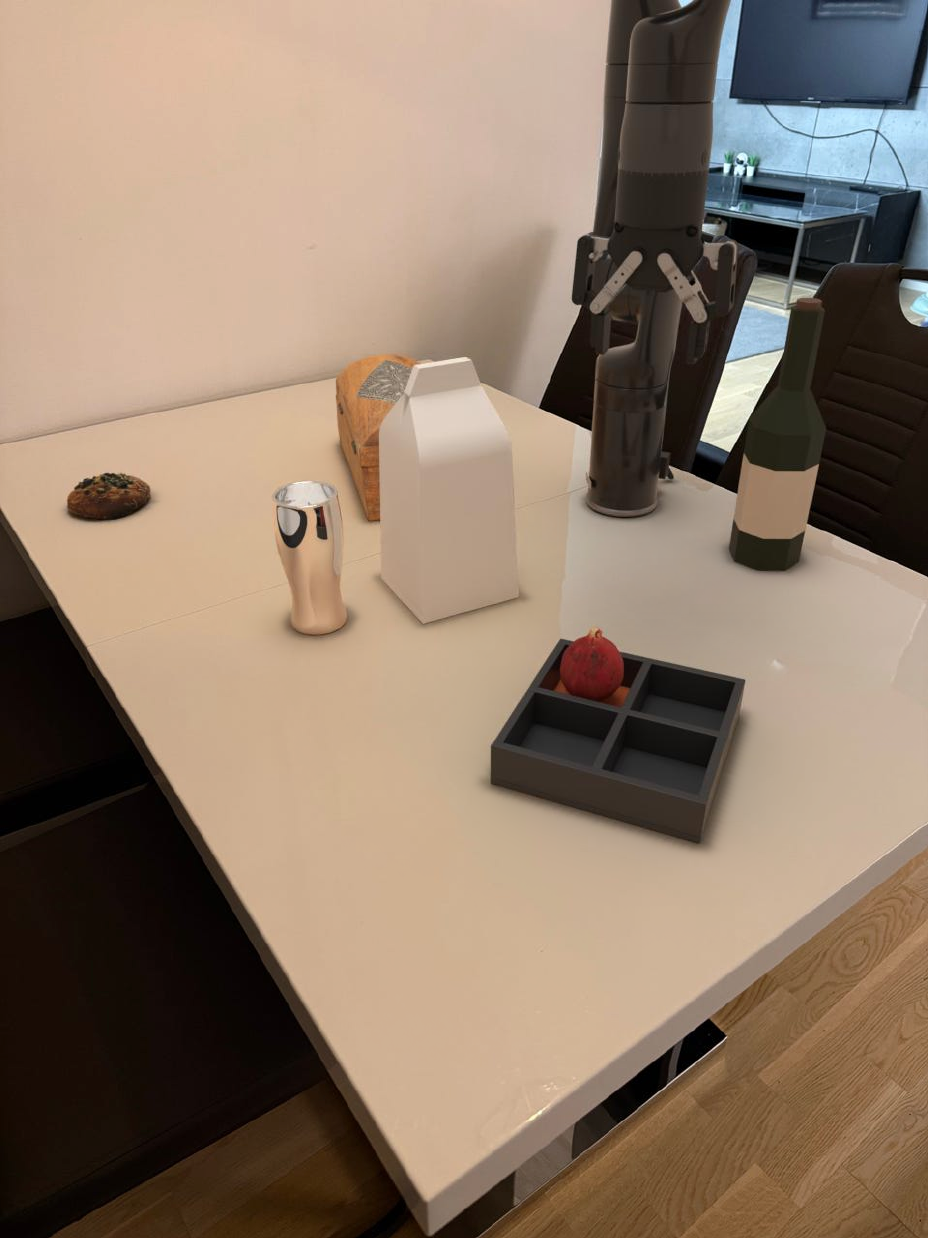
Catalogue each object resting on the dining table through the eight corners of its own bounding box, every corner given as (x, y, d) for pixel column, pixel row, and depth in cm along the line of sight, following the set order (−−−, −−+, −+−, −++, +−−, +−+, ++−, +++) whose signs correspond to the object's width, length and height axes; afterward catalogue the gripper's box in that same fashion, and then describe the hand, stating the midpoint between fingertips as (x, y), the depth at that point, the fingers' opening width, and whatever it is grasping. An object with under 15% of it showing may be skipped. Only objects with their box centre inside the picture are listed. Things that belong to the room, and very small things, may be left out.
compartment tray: (558, 672, 91) (560, 637, 89) (739, 715, 85) (745, 679, 82) (490, 783, 77) (490, 745, 75) (699, 843, 71) (706, 804, 69)
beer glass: (289, 605, 103) (273, 481, 95) (352, 602, 103) (340, 478, 95) (284, 639, 97) (266, 509, 89) (350, 635, 97) (338, 506, 89)
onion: (618, 724, 82) (625, 651, 78) (554, 717, 83) (558, 644, 79) (622, 687, 87) (629, 616, 83) (561, 681, 88) (565, 610, 84)
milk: (423, 623, 99) (412, 387, 85) (381, 578, 108) (365, 357, 94) (518, 596, 104) (523, 368, 90) (471, 555, 112) (469, 341, 99)
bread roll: (98, 527, 120) (88, 490, 118) (53, 516, 126) (43, 481, 124) (169, 501, 127) (160, 466, 125) (123, 493, 134) (115, 459, 132)
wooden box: (483, 510, 123) (483, 410, 116) (361, 522, 120) (353, 421, 113) (440, 433, 148) (438, 347, 141) (338, 442, 145) (331, 355, 138)
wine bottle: (803, 547, 113) (855, 295, 97) (794, 577, 107) (847, 312, 91) (735, 534, 116) (774, 288, 100) (721, 563, 110) (761, 305, 94)
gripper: (757, 161, 77) (730, 354, 86) (595, 157, 82) (584, 339, 91) (742, 171, 71) (715, 377, 80) (568, 165, 76) (560, 359, 85)
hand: (645, 357), depth 85 cm, fingers open, 8 cm apart
